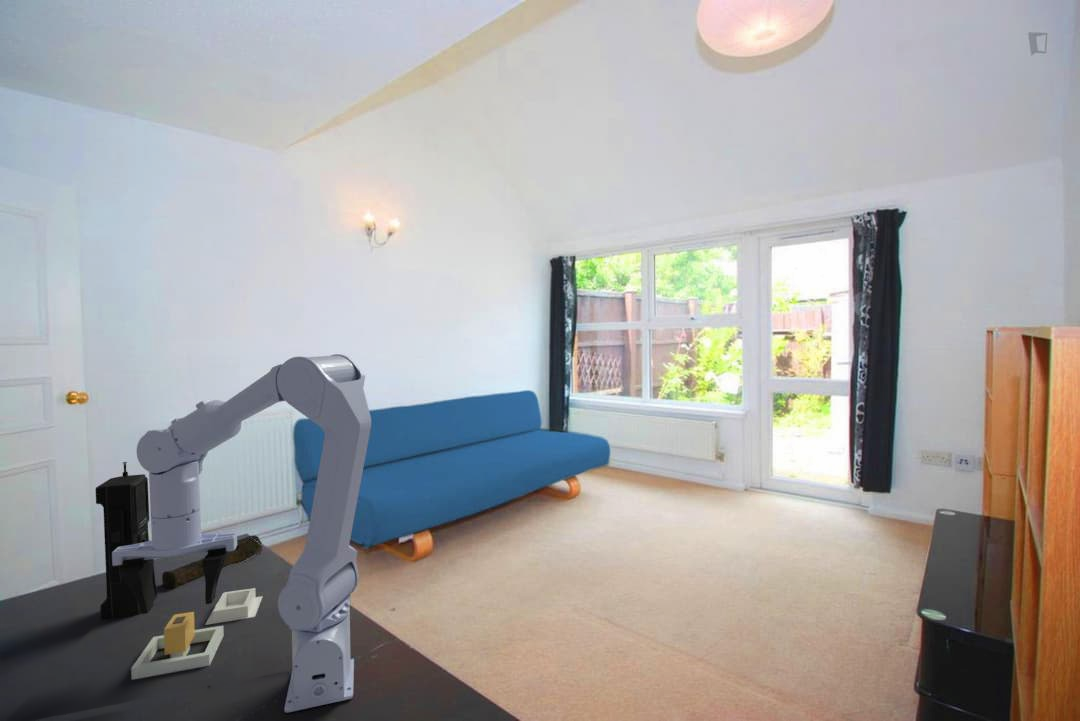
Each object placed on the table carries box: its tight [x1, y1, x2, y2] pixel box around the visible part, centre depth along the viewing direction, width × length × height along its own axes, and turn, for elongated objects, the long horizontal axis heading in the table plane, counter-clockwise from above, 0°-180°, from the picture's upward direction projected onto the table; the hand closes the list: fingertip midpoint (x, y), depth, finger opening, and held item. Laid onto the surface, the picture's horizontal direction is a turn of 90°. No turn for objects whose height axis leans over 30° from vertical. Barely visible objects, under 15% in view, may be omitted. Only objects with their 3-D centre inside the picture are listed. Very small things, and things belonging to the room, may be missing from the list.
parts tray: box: [130, 625, 225, 681], centre depth 73 cm, size 8×9×2 cm
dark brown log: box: [161, 535, 263, 590], centre depth 101 cm, size 19×4×5 cm, turn 153°
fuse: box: [163, 611, 196, 659], centre depth 73 cm, size 4×2×6 cm, turn 19°
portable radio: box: [95, 461, 158, 620], centre depth 85 cm, size 8×6×25 cm
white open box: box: [205, 587, 264, 626], centre depth 85 cm, size 7×7×3 cm
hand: (179, 605), depth 73 cm, fingers open, 7 cm apart
